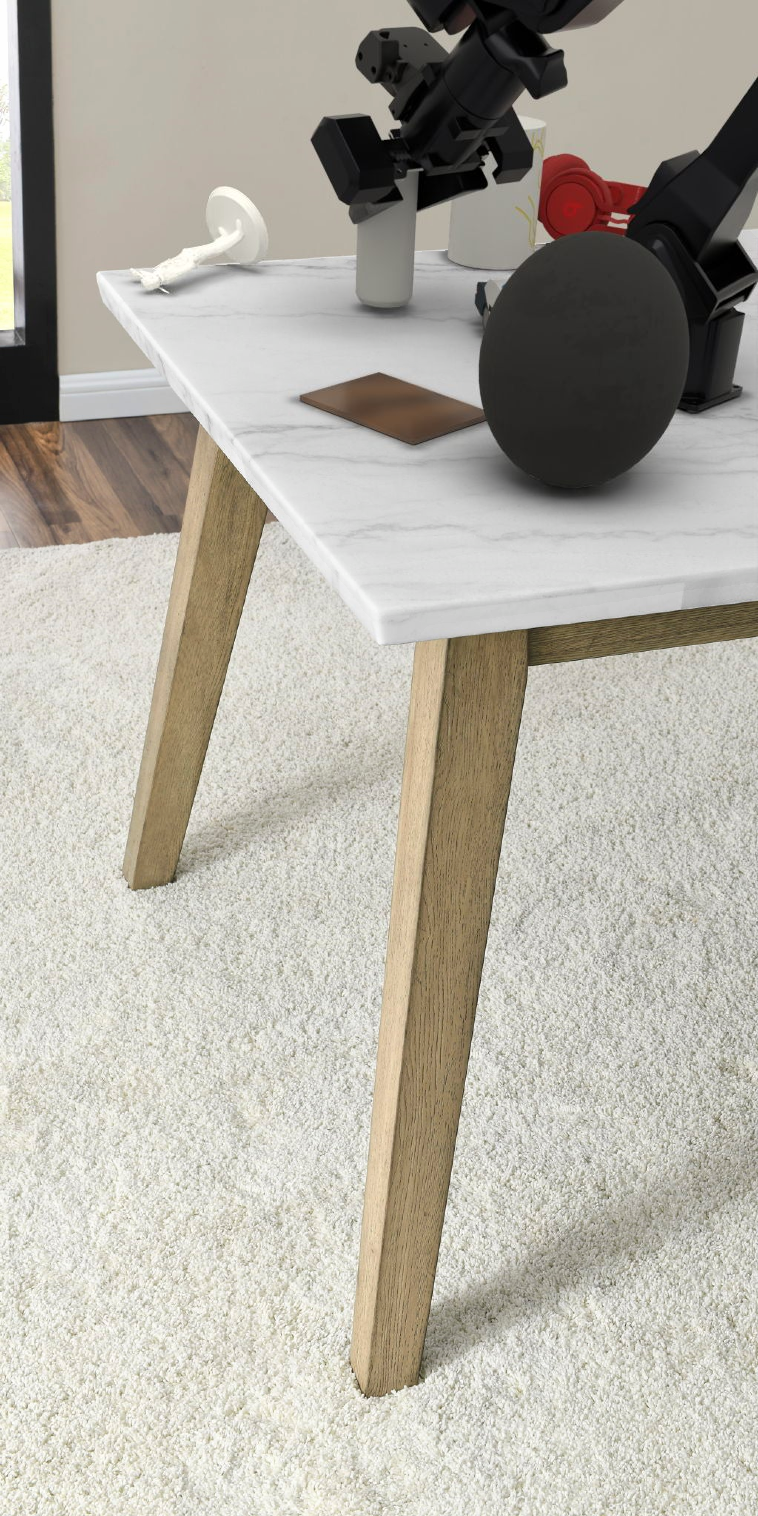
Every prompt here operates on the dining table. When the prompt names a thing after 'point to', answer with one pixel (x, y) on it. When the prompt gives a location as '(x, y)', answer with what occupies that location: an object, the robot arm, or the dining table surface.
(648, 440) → the decorative egg
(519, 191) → the cup
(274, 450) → the dining table surface
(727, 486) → the dining table surface
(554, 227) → the headphones
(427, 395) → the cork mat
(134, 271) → the figurine
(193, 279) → the dining table surface
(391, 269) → the beverage can
